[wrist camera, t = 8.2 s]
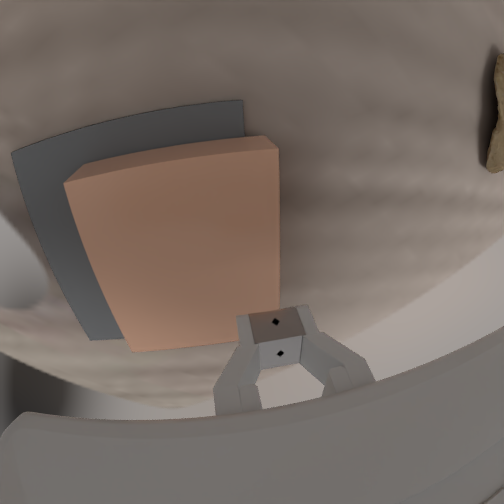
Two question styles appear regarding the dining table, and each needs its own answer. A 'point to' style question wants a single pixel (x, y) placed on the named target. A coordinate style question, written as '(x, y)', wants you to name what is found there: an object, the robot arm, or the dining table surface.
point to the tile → (183, 238)
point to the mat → (90, 150)
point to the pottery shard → (498, 123)
